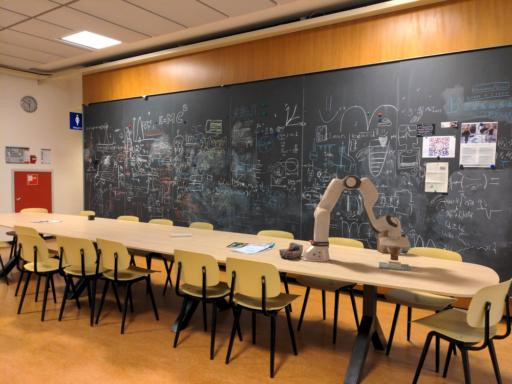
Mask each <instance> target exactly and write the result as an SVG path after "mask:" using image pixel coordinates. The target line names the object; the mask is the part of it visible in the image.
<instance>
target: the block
mask: <svg viewBox="0 0 512 384" xmlns="http://www.w3.org/2000/svg"><path fill="white" fill-rule="evenodd" d="M388 232H389V230H385V231H383V232H381V233H379V234H377V243H376V244H377V245H376V250H377V252H379V253H381V254H390V253H389V251H388V250H387V248H381V247H380V237H382V236H384V237H388ZM389 250H391V249H389Z"/></svg>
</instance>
